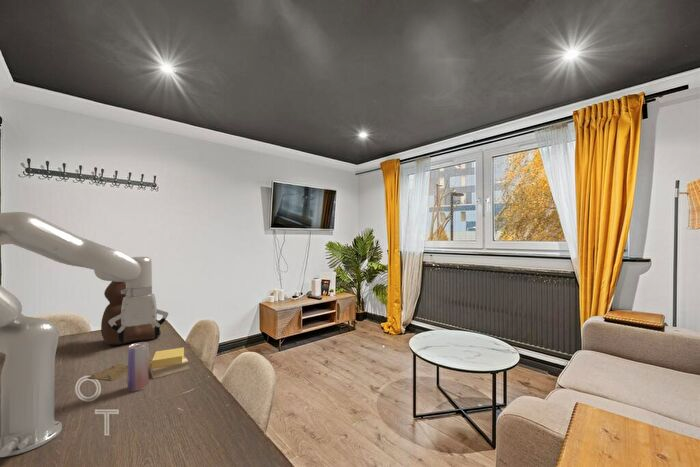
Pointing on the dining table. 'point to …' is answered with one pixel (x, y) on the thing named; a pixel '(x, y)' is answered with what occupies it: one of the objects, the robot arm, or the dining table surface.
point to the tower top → (168, 357)
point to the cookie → (111, 373)
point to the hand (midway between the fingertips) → (140, 340)
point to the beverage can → (138, 366)
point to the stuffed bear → (114, 310)
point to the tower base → (168, 368)
